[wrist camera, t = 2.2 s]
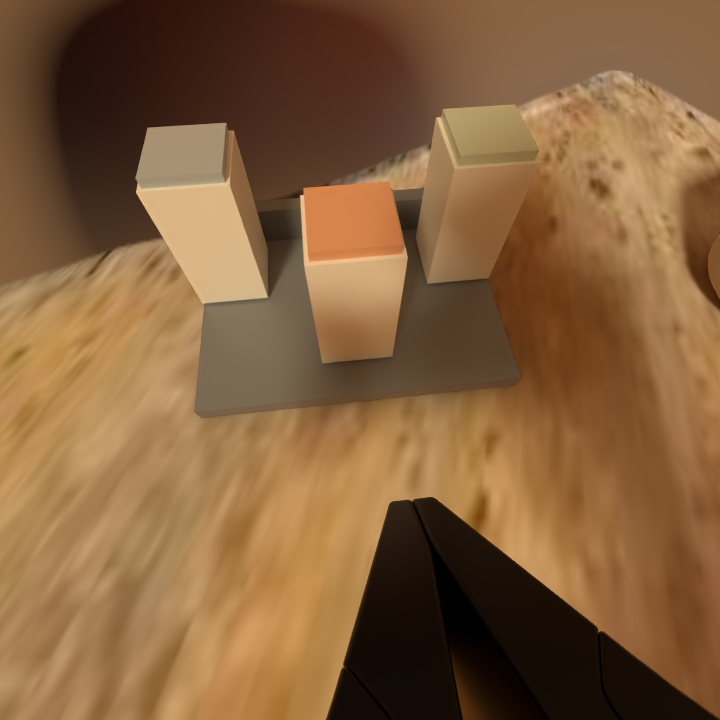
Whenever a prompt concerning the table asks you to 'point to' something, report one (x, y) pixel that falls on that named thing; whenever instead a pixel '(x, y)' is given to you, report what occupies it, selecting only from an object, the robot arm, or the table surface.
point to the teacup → (715, 265)
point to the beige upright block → (473, 190)
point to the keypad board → (348, 378)
